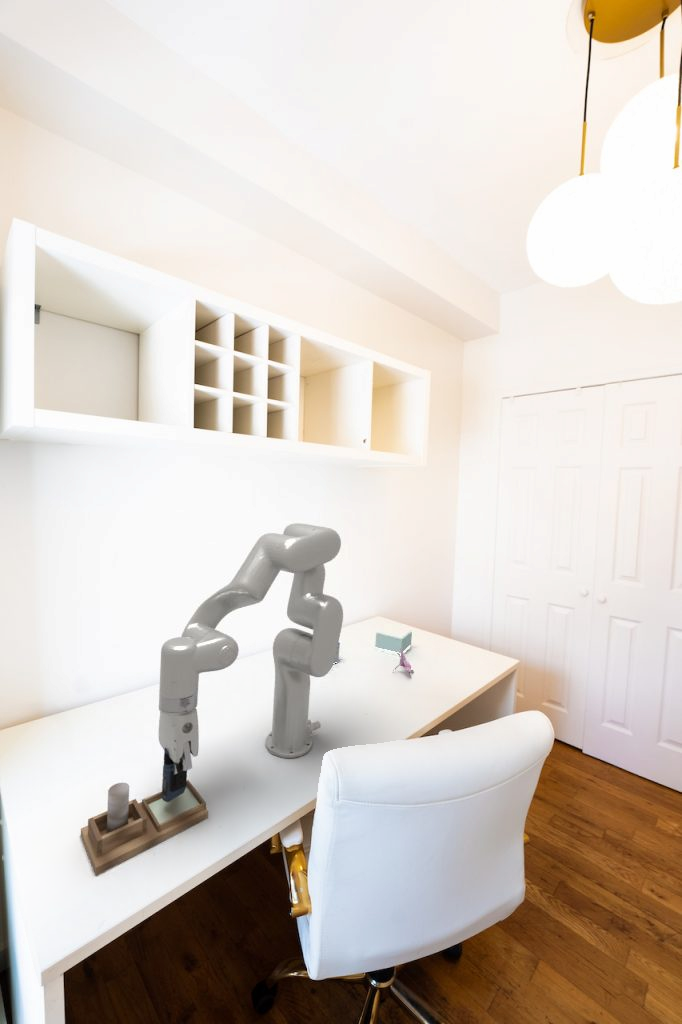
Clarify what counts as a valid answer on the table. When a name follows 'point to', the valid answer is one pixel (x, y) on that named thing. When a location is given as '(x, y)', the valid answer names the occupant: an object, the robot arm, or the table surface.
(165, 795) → the vaping device
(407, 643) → the right angle wall
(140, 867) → the table surface
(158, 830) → the holder
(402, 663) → the lily
